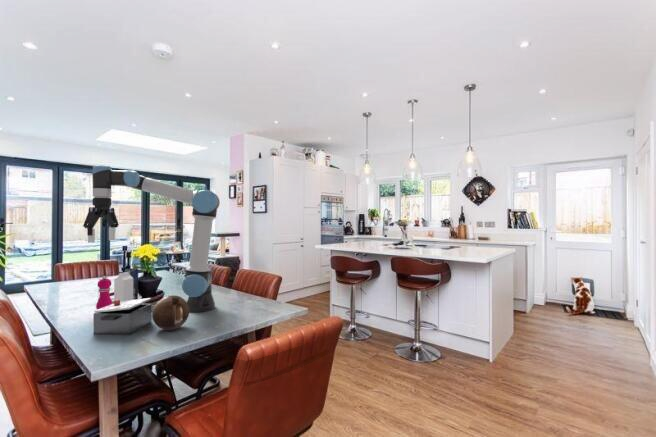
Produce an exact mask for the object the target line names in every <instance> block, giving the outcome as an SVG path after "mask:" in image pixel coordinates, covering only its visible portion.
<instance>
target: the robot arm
mask: <svg viewBox="0 0 656 437" xmlns="http://www.w3.org/2000/svg"><path fill="white" fill-rule="evenodd" d="M91 175H92V176H91V177H92V197H93V198H92V206H93V207H92V206H89V207H88V213H87V215H86V218H85V220H84V222H83V225H82V227H83V228H84V229H87V230H86V232H87V234H86V235H87V243H89V244H90V243H92V244H93V243H96V242H95V241H96V229H95V228H94V227H95V226H96V224H97V222H98V221H99V220H100V218H104V219H105V221H106V222H107V224H108V226H109V227H108V241H116V228H118V227H119V222H118V219H117V217H116V216H117V215H116V213H115V208H114V207H112V186H113V187H114V186H118V187H120V186H121V187H127V188H131V189H135V190H138V191H143V192H146V193H150V194H154V195H156V196H160V197H164V198H167V199H170V200H175V201H177V202H181V203H184V204H188V205H190V206H191V208H192V212H191V215H192V217H193V218H194V223H193V224H194V225H193V230H192V231H193V232H192V241H191V250H190V259H189V264H188V266H186V267H185V273H184V278H183V280H182V281H181V282H182V283H181V289H182V291H183V293H184V294H186V296H188V297H187V301H186V302H187V304H188V306H189V313H199V312H200V313H201V312H207V311H211V310H214V309H215V308H216V303H215V300H214V296H213V294H212V293H213V292H212V291H213V290H212V289H213V288H212V284H213V283H212V282H213V281H212V280H213V279H212V273H213V271H212V269H213V268H212V267H211V266H208V264H209V253H210V246H211V237H212V236H211V235H212V231H213V230H212V229H213V221H214V220H215V219H216V218H217V215H218V214H217V212H218V208H219V206H220V203H221V202H220V198H219V196H218V195H217V194H216V193H215V192H213V191H212V190H208V189H202V190H198V189H197V190H191V189H188V188H185V187H183V186H178V185H176V184H171V183H168V182H165V181H161V180H158V179H154V178H150V177H146V176H144V175H140V174H139V172H138V171H135V170H130V169H129V170H115V169H114V170H113V169H112V167H111V166H110V165H103V164H102V165H101V164H96V165H94V166H92V174H91ZM110 206H111V207H110Z"/></svg>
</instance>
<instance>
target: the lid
mask: <svg viewBox="0 0 656 437" xmlns="http://www.w3.org/2000/svg"><path fill="white" fill-rule="evenodd" d="M152 299H153V298H152V297H146V298H137V299H133V300H125V301H120V300H115V301H114V300H113V304H111V305H108V306H106V307H103V308H101V309H98V310H97V309H95V310H94V311H93V312H94V313H97V312H107V311H117V310H127V309H131V308H134V307H136V306H138V305H140V304H146V303H147V302H149V301H152Z"/></svg>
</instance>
